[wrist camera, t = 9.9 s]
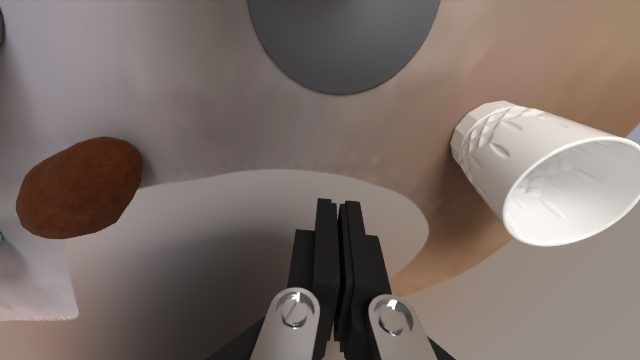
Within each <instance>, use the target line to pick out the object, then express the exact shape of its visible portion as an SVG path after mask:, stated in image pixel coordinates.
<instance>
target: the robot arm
mask: <svg viewBox="0 0 640 360" xmlns="http://www.w3.org/2000/svg"><path fill="white" fill-rule="evenodd" d="M333 320H334V341H338V342H340V352H344V357H345V359H346V360H456V359H454V358H453V357H452V356H451V355H449V354H448V353H447V352H446V351H445V350H443V349H442V348H441V347H440V346H439V345H437V344H436V343H435V342H434V341H433V340H431V339H430V338H429V337H428V336H427V335H426V333H425V331H424V329H423V327H422V325H421V322H420V320H419V318H418V316H417V314H416V312H415V311H414V309H413V308H412V307H411V306H410V305H409V304H408V303H407V302H406V301H405V300H403V299H402V298H400V297H397V296H394V295H392V293H391V288H390V284H389V280H388V276H387V272H386V268H385V263H384V259H383V255H382V250H381V246H380V242H379V239H378V237H377V236H373V235H366V234H365V229H364V223H363V217H362V211H361V206H360V202H357V201H346V202H345V204H340V207H339V214H338V221H337V205H336V203H331V199H321V198H318V203H317V213H316V223H315V231H311V230H297V229H296V233H295V240H294V246H293V253H292V260H291V266H290V273H289V279H288V286H287V289H285V290H283V291H281V292H279V293H278V294H277V295H276V296H275V297H274V299H273V301H272V302H271V304H270V307H269V310H268V312H267V315H266V316H265V317H263V318H262V319H261V320H259V321H258V322H257V323H255V324H254V325H253V326H251V327H250V328H248V329H247V330H246V331H244V332H243V333H242V334H240V335H239V336H237V337H236V338H235V339H233V340H232V341H231V342H229V343H228V344H226V345H225V346H224V347H222V348H221V349H220V350H218V351H217V352H215V353H214V354H213V355H211V356H210V357H209V358H207V359H206V360H321V359H322V358H323V357H324V355H325V350H326V344H327V341H330V336H331V331H332V326H333Z"/></svg>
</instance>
